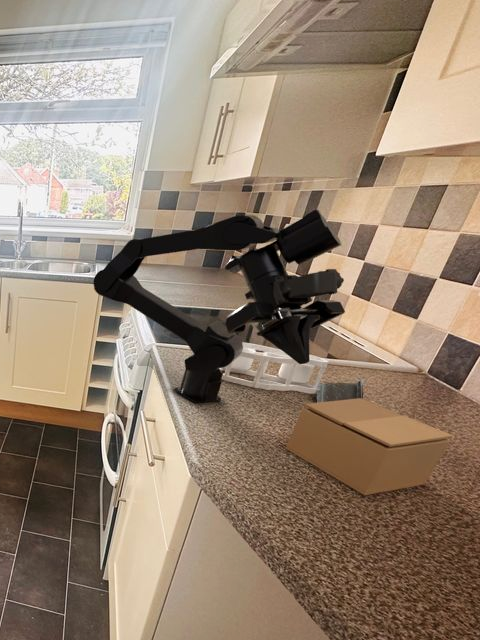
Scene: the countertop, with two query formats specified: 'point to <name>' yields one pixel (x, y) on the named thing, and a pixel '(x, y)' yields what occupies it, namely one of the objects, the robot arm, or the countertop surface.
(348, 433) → the carton
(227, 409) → the countertop surface
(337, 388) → the grey angular piece
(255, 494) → the countertop surface
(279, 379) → the skeletal toy car
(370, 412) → the flap
